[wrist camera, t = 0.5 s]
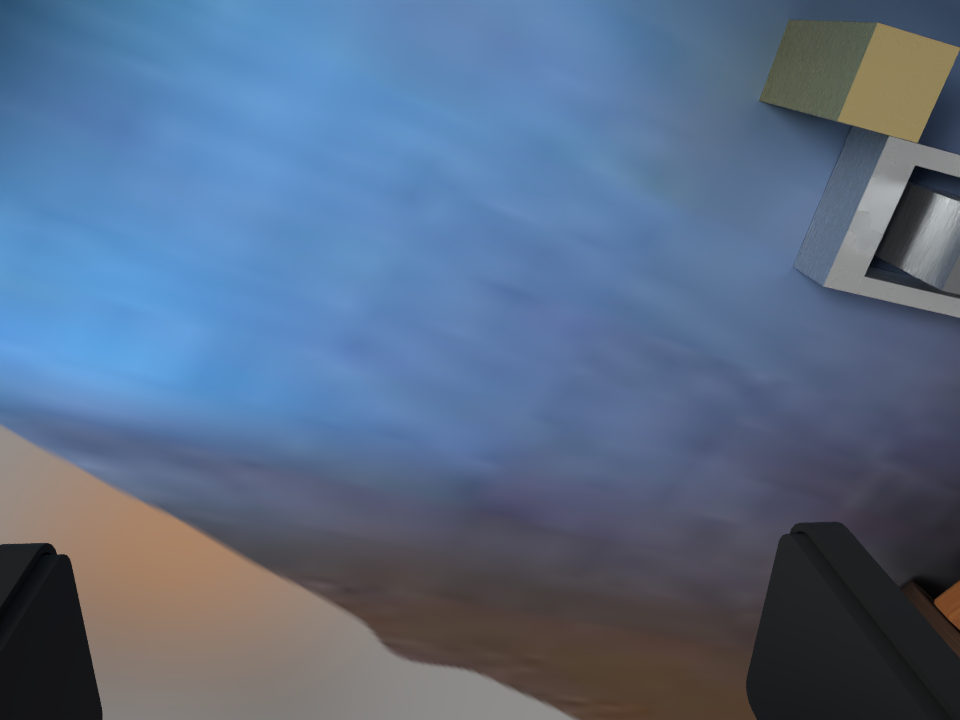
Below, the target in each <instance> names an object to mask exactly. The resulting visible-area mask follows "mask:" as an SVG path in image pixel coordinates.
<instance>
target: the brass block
mask: <svg viewBox="0 0 960 720" xmlns="http://www.w3.org/2000/svg"><path fill="white" fill-rule="evenodd" d="M959 50H960V48H959V47H956V46H953V45H950V44H946V43H943V42H940V41H936V40H933V39H930V38H926V37H923V36H920V35H917V34H913V33H910V32H907V31H903V30H900V29H897V28H894V27H890V26H887V25H884V24H880V23H873V22H843V21H814V20H789V21H788V24H787V27H786V30H785V32H784V35H783V38H782V40H781V43H780V46H779V48H778V51H777V54H776V57H775V59H774V62H773V65H772V67H771V70H770V73H769V75H768V78H767V81H766V84H765V86H764V89H763V92H762V94H761V97H760V100H759V101H762V102H766V103H770V104H773V105H777V106H780V107H784V108H788V109H791V110H795V111H799V112H802V113H806V114H810V115H813V116H817V117H821V118H824V119H828V120H832V121H836V122H839V123H843V124H847V125H851V126H855V127H859V128H862V129H866V130H870V131H874V132H878V133H881V134H885V135H889V136H893V137H897V138H901V139H904V140H908V141H912V142H916V143H918V141H919V139H920V136H921V134H922V132H923V130H924V128H925V125H926V123H927V121H928V119H929V117H930V114H931V112H932V110H933V108H934V106H935V103H936V101H937V99H938V97H939V95H940V92H941V90H942V88H943V86H944V83H945V81H946V79H947V77H948V75H949V72H950V70H951V68H952V66H953V64H954V61H955V59H956V57H957V55H958V53H959Z"/></svg>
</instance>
